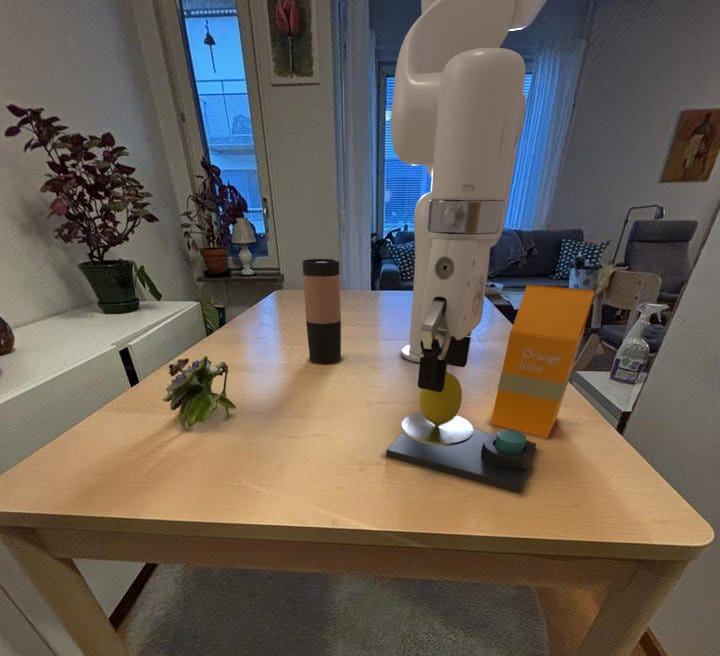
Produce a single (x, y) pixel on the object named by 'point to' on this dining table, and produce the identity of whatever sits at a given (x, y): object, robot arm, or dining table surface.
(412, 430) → the scale pan
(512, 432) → the tare button
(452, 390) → the lemon
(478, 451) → the scale
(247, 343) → the dining table surface
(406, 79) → the robot arm
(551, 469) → the dining table surface
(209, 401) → the purple flowering plant
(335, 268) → the travel mug
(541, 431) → the orange juice
